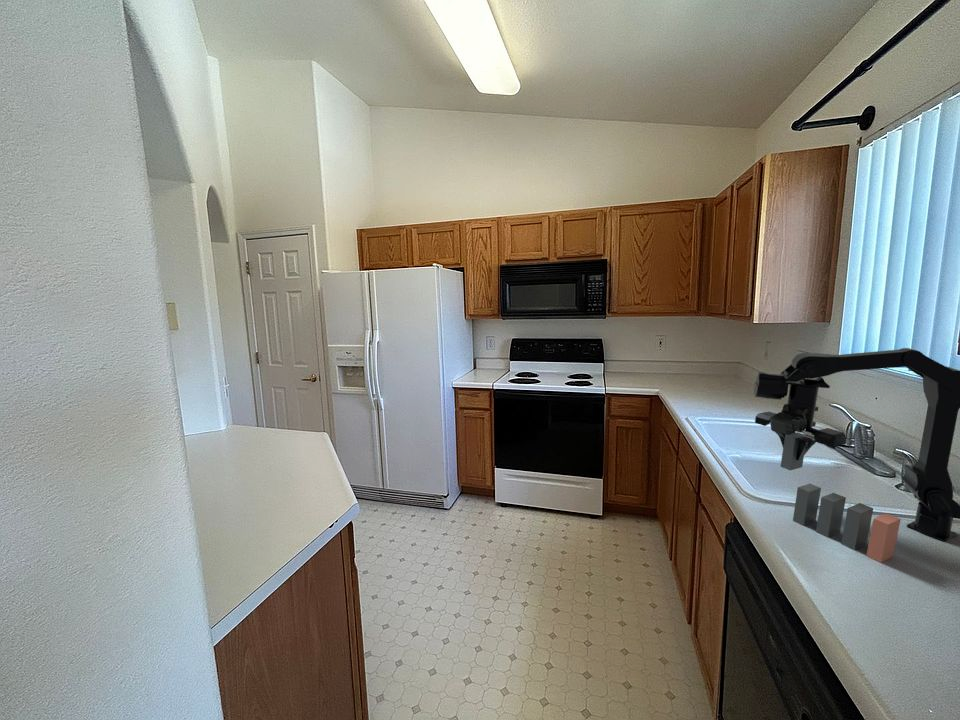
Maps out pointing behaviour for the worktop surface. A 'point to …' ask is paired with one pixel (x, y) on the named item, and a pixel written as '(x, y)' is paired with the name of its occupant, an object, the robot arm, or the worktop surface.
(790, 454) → the domino
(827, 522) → the domino
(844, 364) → the robot arm
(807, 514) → the domino
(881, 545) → the red domino
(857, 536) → the domino
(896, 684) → the worktop surface
